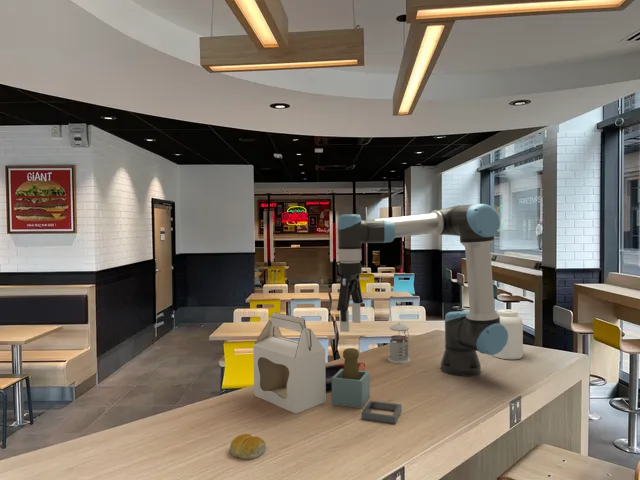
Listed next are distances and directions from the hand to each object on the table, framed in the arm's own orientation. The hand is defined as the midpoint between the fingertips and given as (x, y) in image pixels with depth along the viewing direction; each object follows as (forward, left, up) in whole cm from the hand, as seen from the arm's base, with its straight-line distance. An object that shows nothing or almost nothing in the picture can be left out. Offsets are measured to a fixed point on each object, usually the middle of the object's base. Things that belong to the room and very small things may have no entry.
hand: (350, 326), depth 148 cm
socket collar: (-12, +8, -24) cm, 28 cm away
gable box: (+20, +5, -25) cm, 32 cm away
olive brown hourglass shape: (0, 0, -19) cm, 19 cm away
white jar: (-50, -70, -25) cm, 89 cm away
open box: (0, 0, -24) cm, 24 cm away
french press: (-7, -51, -25) cm, 57 cm away
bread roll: (+16, +41, -25) cm, 50 cm away
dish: (+11, -15, -25) cm, 31 cm away
